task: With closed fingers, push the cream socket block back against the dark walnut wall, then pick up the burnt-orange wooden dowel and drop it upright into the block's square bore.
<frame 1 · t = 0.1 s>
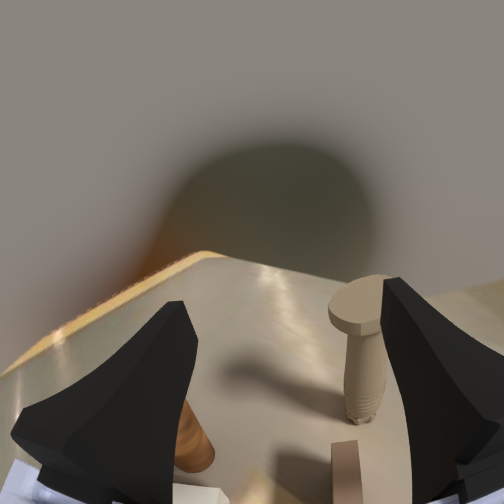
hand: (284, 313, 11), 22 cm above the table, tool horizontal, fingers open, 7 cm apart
dowel: (194, 455, 27), on the table
handle: (361, 415, 28), on the table
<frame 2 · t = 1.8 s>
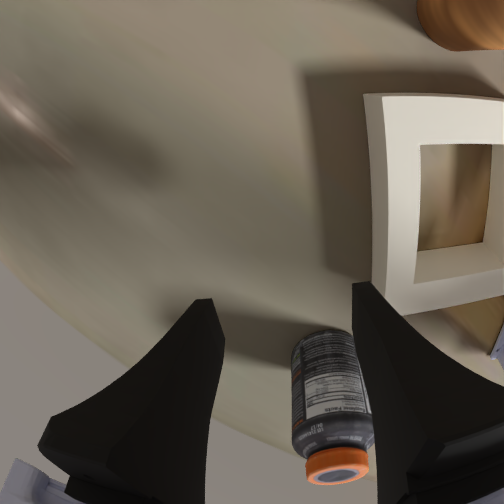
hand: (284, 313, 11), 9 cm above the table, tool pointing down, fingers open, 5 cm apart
pill bottle: (326, 351, 25), on the table
dowel: (448, 18, 12), on the table
socket block: (447, 193, 17), on the table
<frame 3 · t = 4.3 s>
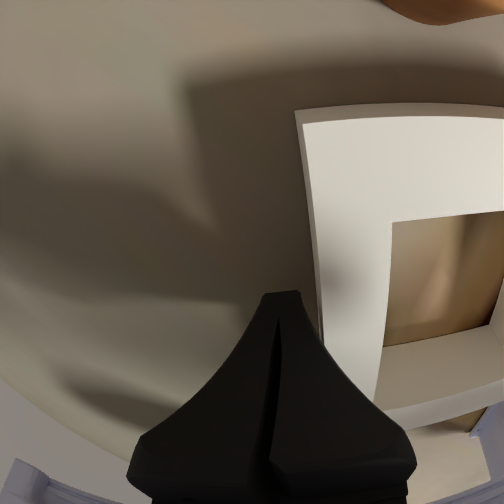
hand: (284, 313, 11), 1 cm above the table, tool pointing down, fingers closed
socket block: (445, 268, 11), on the table, touching gripper
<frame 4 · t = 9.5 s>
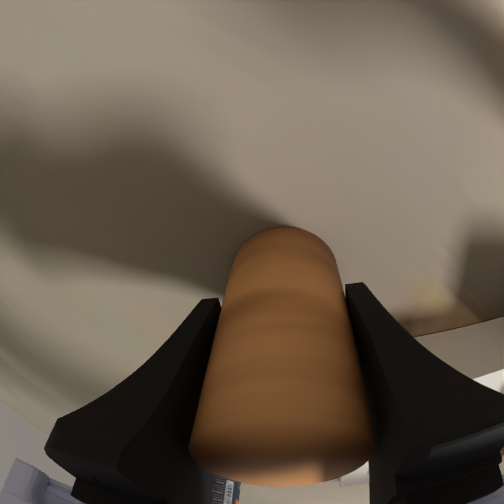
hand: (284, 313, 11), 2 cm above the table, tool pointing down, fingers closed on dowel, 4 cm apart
pill bottle: (213, 474, 27), on the table
dowel: (284, 275, 13), on the table, touching gripper
socket block: (418, 398, 17), on the table
when the fingers open (4 cm above the table, at t = 13.9 s): dowel drops 2 cm, resting in socket block.
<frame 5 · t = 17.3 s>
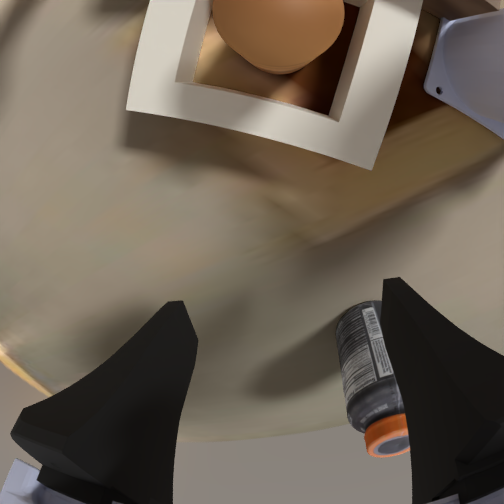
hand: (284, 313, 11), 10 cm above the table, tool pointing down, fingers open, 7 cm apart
pill bottle: (369, 324, 25), on the table
dowel: (278, 39, 15), resting in socket block
socket block: (276, 38, 15), on the table
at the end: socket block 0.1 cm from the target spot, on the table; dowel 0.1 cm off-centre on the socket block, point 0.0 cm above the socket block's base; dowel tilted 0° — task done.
